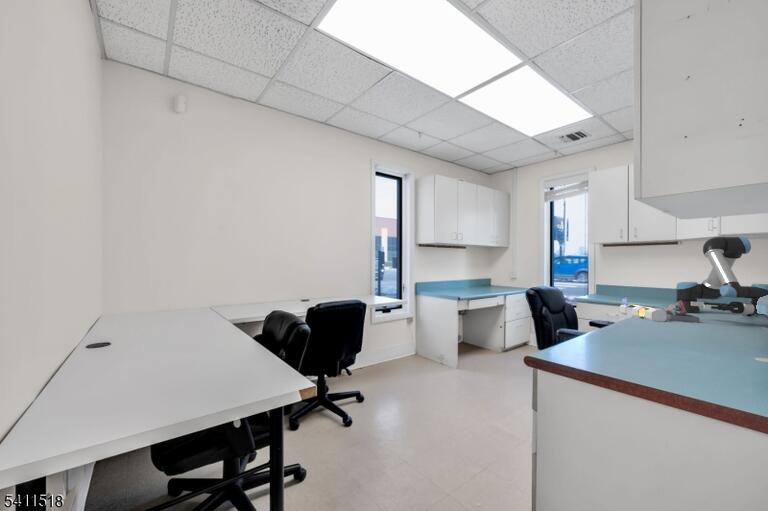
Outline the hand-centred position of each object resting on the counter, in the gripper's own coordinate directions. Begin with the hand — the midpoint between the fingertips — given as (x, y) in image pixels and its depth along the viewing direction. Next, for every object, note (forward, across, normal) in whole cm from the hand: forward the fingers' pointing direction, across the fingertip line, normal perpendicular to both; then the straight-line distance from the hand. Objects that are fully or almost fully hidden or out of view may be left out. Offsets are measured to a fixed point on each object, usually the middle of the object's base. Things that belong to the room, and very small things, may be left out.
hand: (697, 305), depth 202 cm
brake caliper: (+12, 0, -8) cm, 15 cm away
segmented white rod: (+30, -3, -11) cm, 32 cm away
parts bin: (+10, 0, -10) cm, 14 cm away
